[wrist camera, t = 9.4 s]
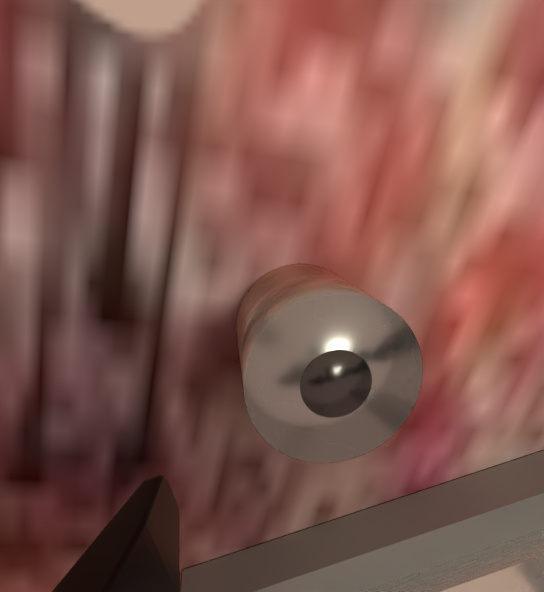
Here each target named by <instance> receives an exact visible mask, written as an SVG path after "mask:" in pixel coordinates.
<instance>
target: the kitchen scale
mask: <svg viewBox="0 0 544 592" xmlns="http://www.w3.org/2000/svg"><path fill="white" fill-rule="evenodd" d="M180 592H544V450H543V451H540V452H537V453H534V454H531V455H528V456H525V457H522V458H519V459H516V460H513V461H510V462H507V463H504V464H501V465H498V466H495V467H492V468H489V469H486V470H483V471H480V472H477V473H474V474H471V475H468V476H465V477H462V478H459V479H456V480H453V481H450V482H447V483H444V484H441V485H438V486H435V487H432V488H428V489H425V490H422V491H419V492H416V493H413V494H410V495H407V496H404V497H401V498H398V499H395V500H392V501H389V502H386V503H383V504H380V505H377V506H374V507H371V508H368V509H365V510H362V511H359V512H356V513H353V514H350V515H347V516H344V517H341V518H338V519H335V520H332V521H329V522H326V523H323V524H320V525H317V526H314V527H311V528H308V529H305V530H302V531H299V532H296V533H293V534H290V535H287V536H284V537H281V538H278V539H275V540H272V541H269V542H266V543H263V544H260V545H257V546H254V547H251V548H248V549H245V550H242V551H239V552H236V553H233V554H230V555H227V556H224V557H221V558H218V559H215V560H211V561H208V562H205V563H202V564H199V565H196V566H193V567H190V568H187V569H184V570H183V572H182V582H181V591H180Z"/></svg>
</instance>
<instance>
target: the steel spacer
mask: <svg viewBox="0 0 544 592" xmlns="http://www.w3.org/2000/svg"><path fill="white" fill-rule="evenodd" d="M236 332H237V341H238V349H239V357H240V365H241V373H242V381H243V390H244V398H245V403H246V408H247V412H248V414H249V417H250V419H251V421H252V423H253V425H254V427H255V428H256V430H257V431H258V433H259V434H260V435H261V436H262V438H263V439H264V440H265V441H266V442H268V443H269V444H270V445H271V446H272V447H274V448H275V449H277V450H278V451H279V452H281V453H283V454H285V455H287V456H289V457H292V458H295V459H298V460H302V461H306V462H313V463H334V462H341V461H345V460H349V459H353V458H356V457H358V456H361V455H363V454H365V453H367V452H369V451H371V450H373V449H375V448H376V447H378V446H379V445H381V444H382V443H384V442H385V441H386V440H388V439H389V438H390V437H391V436H392V435H393V434H394V433H395V432H396V431H397V430H398V429H399V428H400V427H401V426H402V424H403V423H404V422H405V420H406V419H407V418H408V416H409V414H410V413H411V411H412V409H413V407H414V405H415V403H416V401H417V398H418V395H419V392H420V388H421V382H422V373H423V365H422V356H421V352H420V347H419V345H418V342H417V339H416V337H415V335H414V334H413V332H412V330H411V328H410V327H409V326H408V324H407V323H406V322H405V321H404V319H403V318H401V317H400V316H399V315H398V314H397V313H396V312H395V311H393V310H392V309H390V308H389V307H387V306H386V305H384V304H383V303H381V302H379V301H378V300H376V299H375V298H373V297H371V296H370V295H368V294H366V293H365V292H363V291H362V290H360V289H358V288H357V287H355V286H353V285H352V284H350V283H349V282H347V281H345V280H344V279H342V278H340V277H339V276H337V275H336V274H334V273H332V272H331V271H329V270H327V269H325V268H322V267H319V266H316V265H311V264H291V265H286V266H282V267H279V268H277V269H274V270H272V271H270V272H268V273H267V274H265V275H264V276H262V277H261V278H260V279H259V280H257V281H256V282H255V283H254V284H253V285H252V287H251V288H250V289H249V290H248V292H247V293H246V295H245V296H244V298H243V300H242V302H241V304H240V307H239V310H238V314H237V320H236Z"/></svg>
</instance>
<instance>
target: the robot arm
mask: <svg viewBox="0 0 544 592" xmlns="http://www.w3.org/2000/svg"><path fill="white" fill-rule="evenodd" d="M52 592H179V509H178V505H177V503H176V500H175V498H174V495H173V493H172V490H171V488H170V485H169V483H168V481H167V479H166V478H165V476H163V475H160V476H157V477H153V478H150V479H147V480H145V481H143V483H142V484H141V485H140V486H139V487H138V488H137V490H136V491H135V492H134V493H133V494H132V496H131V497H130V498H129V499H128V500H127V502H126V503H125V504H124V505H123V507H122V508H121V509H120V510H119V511H118V513H117V514H116V515H115V516H114V517H113V519H112V520H111V521H110V522H109V523H108V525H107V526H106V527H105V528H104V529H103V531H102V532H101V533H100V534H99V535H98V537H97V538H96V539H95V540H94V542H93V543H92V544H91V545H90V546H89V548H88V549H87V550H86V551H85V552H84V554H83V555H82V556H81V557H80V558H79V560H78V561H77V562H76V563H75V564H74V566H73V567H72V568H71V569H70V571H69V572H68V573H67V574H66V575H65V577H64V578H63V579H62V580H61V581H60V583H59V584H58V585H57V586H56V587H55V589H54V590H53V591H52Z"/></svg>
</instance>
